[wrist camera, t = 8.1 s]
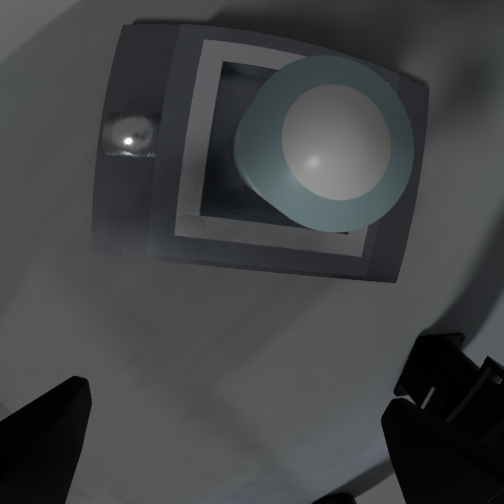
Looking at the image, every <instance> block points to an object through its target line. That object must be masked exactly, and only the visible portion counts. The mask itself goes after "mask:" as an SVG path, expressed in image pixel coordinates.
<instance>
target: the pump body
mask: <svg viewBox="0 0 504 504" xmlns="http://www.w3.org/2000/svg"><path fill="white" fill-rule="evenodd" d="M232 158H233V163H234V166H235V168H236V170H237V173H238V175H239V176H240V178H241V179H242V180H243V182H244V183H245V184H246V185H247V186H248V187H249V188H250V189H252V190H253V191H254V192H256V193H257V194H258V195H259V196H261V197H262V198H263V199H265V200H266V201H267V202H269V203H270V204H271V205H273V206H274V207H275V208H276V209H278V210H279V211H280V212H282V213H283V214H284V215H286V216H287V217H289V218H290V219H292V220H293V221H295V222H297V223H299V224H301V225H303V226H305V227H308V228H311V229H314V230H319V231H323V232H335V233H336V232H348V231H353V230H357V229H360V228H363V227H365V226H368V225H370V224H371V223H373V222H375V221H377V220H378V219H380V218H381V217H382V216H384V215H385V214H386V213H387V212H388V211H389V210H390V209H391V208H392V207H393V206H394V205H395V203H396V202H397V201H398V200H399V198H400V196H401V195H402V193H403V192H404V190H405V187H406V185H407V183H408V180H409V177H410V174H411V171H412V166H413V159H414V140H413V132H412V128H411V124H410V120H409V118H408V115H407V112H406V110H405V108H404V106H403V104H402V102H401V100H400V99H399V97H398V96H397V94H396V93H395V91H394V90H393V89H392V88H391V87H390V86H389V84H388V83H387V82H386V81H385V80H384V79H383V78H381V77H380V76H379V75H378V74H377V73H375V72H374V71H372V70H371V69H370V68H368V67H366V66H364V65H362V64H360V63H358V62H356V61H353V60H351V59H347V58H343V57H339V56H331V55H317V56H310V57H305V58H302V59H299V60H296V61H294V62H291V63H289V64H287V65H285V66H284V67H282V68H281V69H280V70H278V71H277V72H275V73H274V74H273V75H272V76H271V77H270V78H269V79H268V80H267V81H266V82H265V84H264V85H263V86H262V88H261V89H260V90H259V92H258V93H257V95H256V97H255V98H254V100H253V101H252V103H251V105H250V106H249V108H248V109H247V111H246V113H245V114H244V116H243V117H242V119H241V121H240V122H239V124H238V126H237V128H236V130H235V133H234V136H233V140H232Z"/></svg>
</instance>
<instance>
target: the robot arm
mask: <svg viewBox="0 0 504 504" xmlns="http://www.w3.org/2000/svg"><path fill="white" fill-rule="evenodd" d="M464 340H465V335H464V334H462V333H457V334H443V335H427V336H420V337H419V338H418V339H417V341H416V343H415V345H414V348H413V350H412V353H411V355H410V357H409V359H408V362H407V364H406V366H405V368H404V371H403V373H402V375H401V377H400V379H399V381H398V383H397V385H396V388H395V390H394V394H395V396H396V397H398V396H405V395H409V396H410V397H411V399H412V400H413V401H414V402H415V404H416V405H415V404H414V403H412V402H410V401H408V400H407V399H405V398H396V399H392V400H391V401H390V403H389V405H388V407H387V408H386V410H385V412H384V414H383V415H382V418H381V424H382V428H383V432H384V436H385V440H386V444H387V448H388V452H389V455H390V459H391V462H392V465H393V468H394V471H395V473H396V476H397V479H398V482H399V485H400V488H401V490H402V493H403V496H404V499H405V502H406V504H504V366H502V365H501V364H499V363H498V362H496V361H495V360H493V359H492V358H490V357H489V356H487V357H486V359H485V360H484V363H483V365H482V366H481V368H479V367H478V366H477V365H476V364H475V363H474V362H473V361H472V360H471V359H470V358H468V357H467V356H466V355H465V354H464V353H463V352H462V351H461V350H460V349H461V347H462V344H463V342H464ZM501 379H502V381H501ZM500 381H501V382H500ZM499 382H500V384H498V383H499ZM91 406H92V399H91V393H90V387H89V382H88V380H87V379H86V378H82V377H79V376H72V377H70V378H69V379H67V380H66V381H64V382H62V383H61V384H59V385H58V386H56V387H54V388H53V389H51V390H50V391H48V392H47V393H45V394H43V395H42V396H40V397H39V398H37V399H35V400H34V401H32V402H31V403H29V404H27V405H26V406H24V407H23V408H21V409H19V410H18V411H16V412H15V413H13V414H11V415H10V416H8V417H7V418H5V419H3V420H2V421H0V504H65V502H66V499H67V496H68V492H69V489H70V486H71V482H72V479H73V476H74V472H75V470H76V467H77V464H78V461H79V458H80V454H81V451H82V447H83V442H84V437H85V433H86V428H87V424H88V419H89V415H90V411H91Z"/></svg>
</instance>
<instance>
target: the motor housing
mask: <svg viewBox="0 0 504 504" xmlns="http://www.w3.org/2000/svg"><path fill="white" fill-rule="evenodd" d="M317 55H331V56H339V57H343V58H347V59H351V60H353V61H356V62H358V63H360V64H362V65H364V66H366V67H368V68H370V69H371V70H372V71H374V72H375V73H377V74H378V75H379V76H380V77H381V78H383V79H384V80H385V81H386V82H387V83H388V84H389V86H390V87H391V88H392V89H393V90H394V91H395V93H396V94H397V96H398V97H399V99H400V100H401V102H402V104H403V106H404V108H405V110H406V112H407V115H408V118H409V120H410V124H411V128H412V132H413V140H414V159H413V166H412V171H411V174H410V177H409V180H408V183H407V185H406V187H405V190H404V192H403V193H402V195H401V196H400V198H399V200H398V201H397V202H396V203H395V205H394V206H393V207H392V208H391V209H390V210H389V211H388V212H387V213H386V214H385V215H384V216H382V217H381V218H380V219H378V220H377V221H375V222H373V223H371V224H370V225H368V226H365V227H363V228H360V229H357V230H353V231H348V232H336V233H335V232H323V231H319V230H314V229H311V228H308V227H305V226H303V225H301V224H299V223H297V222H295V221H293V220H292V219H290V218H289V217H287V216H286V215H284V214H283V213H282V212H280V211H279V210H278V209H276V208H275V207H274V206H273V205H271V204H270V203H269V202H267V201H266V200H265V199H263V198H262V197H261V196H259V195H258V194H257V193H256V192H254V191H253V190H252V189H250V188H249V187H248V186H247V185H246V184H245V183H244V182H243V180H242V179H241V178H240V176H239V175H238V173H237V170H236V168H235V166H234V163H233V158H232V140H233V136H234V133H235V130H236V128H237V126H238V124H239V122H240V121H241V119H242V117H243V116H244V114H245V113H246V111H247V109H248V108H249V106H250V105H251V103H252V101H253V100H254V98H255V97H256V95H257V93H258V92H259V90H260V89H261V88H262V86H263V85H264V84H265V82H266V81H267V80H268V79H269V78H270V77H271V76H272V75H273V74H274V73H275V72H277V71H278V70H280V69H281V68H282V67H284V66H285V65H287V64H289V63H291V62H294V61H296V60H299V59H302V58H305V57H310V56H317ZM428 100H429V88H427V87H425V86H423V85H421V84H419V83H417V82H415V81H412V80H410V79H408V78H406V77H403V76H401V75H399V73H396V72H394V71H391V70H389V69H386V68H384V67H381V66H379V65H376V64H373V63H371V62H368V61H365V60H362V59H360V58H357V57H354V56H351V55H348V54H345V53H341V52H338V51H335V50H332V49H328V48H325V47H321V46H318V45H314V44H310V43H306V42H302V41H298V40H294V39H289V38H285V37H280V36H275V35H270V34H265V33H259V32H253V31H247V30H240V29H233V28H225V27H216V26H205V25H192V24H181V25H172V24H134V25H123V27H122V31H121V34H120V38H119V41H118V45H117V49H116V52H115V56H114V60H113V64H112V69H111V73H110V78H109V82H108V87H107V92H106V97H105V103H104V108H103V114H102V120H101V127H100V134H99V141H98V149H97V158H96V167H95V179H94V192H93V210H92V252H95V253H103V254H111V255H119V256H128V257H136V258H145V259H153V260H162V261H171V262H180V263H189V264H198V265H207V266H217V267H226V268H236V269H246V270H256V271H266V272H276V273H286V274H297V275H307V276H318V277H329V278H341V279H352V280H364V281H376V282H388V283H396V281H397V278H398V274H399V271H400V267H401V263H402V259H403V255H404V252H405V248H406V243H407V239H408V235H409V231H410V226H411V222H412V217H413V212H414V207H415V202H416V197H417V191H418V185H419V179H420V173H421V166H422V159H423V152H424V144H425V135H426V125H427V114H428Z"/></svg>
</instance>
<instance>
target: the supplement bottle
mask: <svg viewBox="0 0 504 504" xmlns="http://www.w3.org/2000/svg"><path fill="white" fill-rule="evenodd" d="M313 504H357V503H356V501H355V498H354V496H353V495H351V494H349V493H339V494H334V495H330V496H327V497H324V498H322V499H320V500H318V501H316V502H314V503H313Z"/></svg>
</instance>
